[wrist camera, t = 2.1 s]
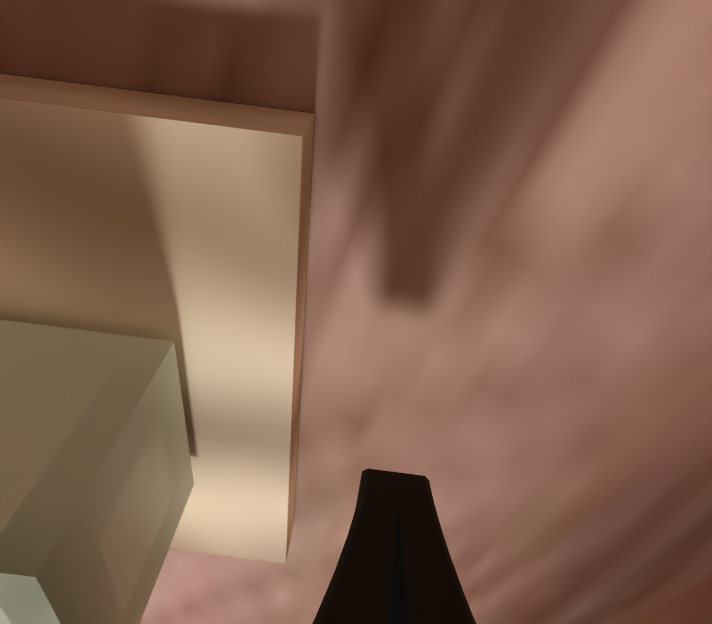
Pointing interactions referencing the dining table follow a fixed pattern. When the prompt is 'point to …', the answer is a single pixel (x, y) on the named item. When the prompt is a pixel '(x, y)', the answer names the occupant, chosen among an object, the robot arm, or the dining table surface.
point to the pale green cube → (87, 472)
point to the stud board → (174, 271)
